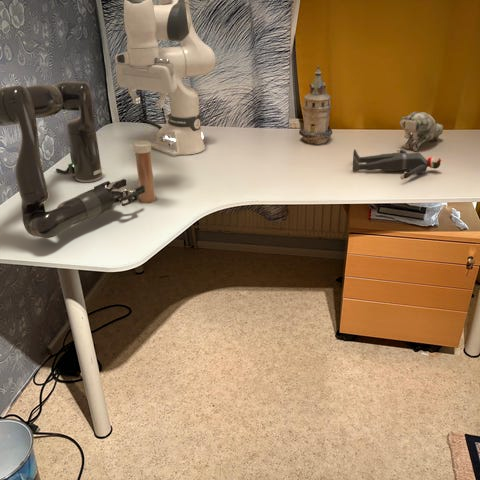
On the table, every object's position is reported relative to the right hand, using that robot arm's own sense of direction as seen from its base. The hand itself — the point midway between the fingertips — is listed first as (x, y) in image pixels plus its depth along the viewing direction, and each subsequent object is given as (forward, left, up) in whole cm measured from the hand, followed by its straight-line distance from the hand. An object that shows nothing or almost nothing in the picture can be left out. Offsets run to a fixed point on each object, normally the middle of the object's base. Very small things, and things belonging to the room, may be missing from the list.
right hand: (148, 105), depth 160 cm
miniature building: (+17, +77, -30) cm, 84 cm away
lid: (-1, -3, -11) cm, 12 cm away
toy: (+56, +63, -30) cm, 90 cm away
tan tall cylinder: (-1, -3, -30) cm, 30 cm away
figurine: (+55, +93, -30) cm, 112 cm away
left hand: (-1, -8, -23) cm, 25 cm away
